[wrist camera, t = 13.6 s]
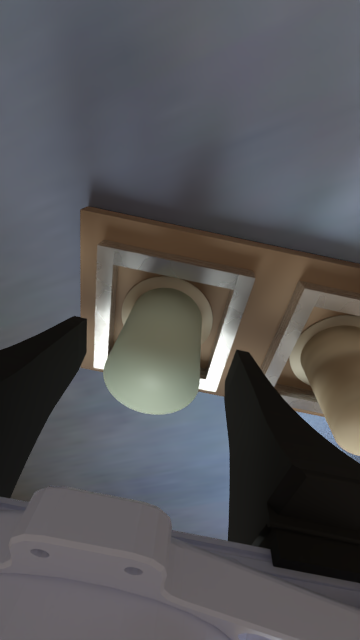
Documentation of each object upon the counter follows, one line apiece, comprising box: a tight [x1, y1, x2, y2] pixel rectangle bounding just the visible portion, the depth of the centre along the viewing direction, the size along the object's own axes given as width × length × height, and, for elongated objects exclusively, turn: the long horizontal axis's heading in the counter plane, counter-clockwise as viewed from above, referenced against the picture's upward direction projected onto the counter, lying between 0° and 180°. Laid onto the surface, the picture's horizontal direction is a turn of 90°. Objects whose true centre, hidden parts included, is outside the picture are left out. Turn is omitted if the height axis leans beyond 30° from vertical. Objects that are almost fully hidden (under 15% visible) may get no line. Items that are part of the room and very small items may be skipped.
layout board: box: [80, 206, 360, 417], centre depth 16 cm, size 10×20×2 cm, turn 79°
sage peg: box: [103, 288, 202, 415], centre depth 14 cm, size 4×4×5 cm
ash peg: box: [300, 325, 360, 456], centre depth 14 cm, size 4×4×5 cm
